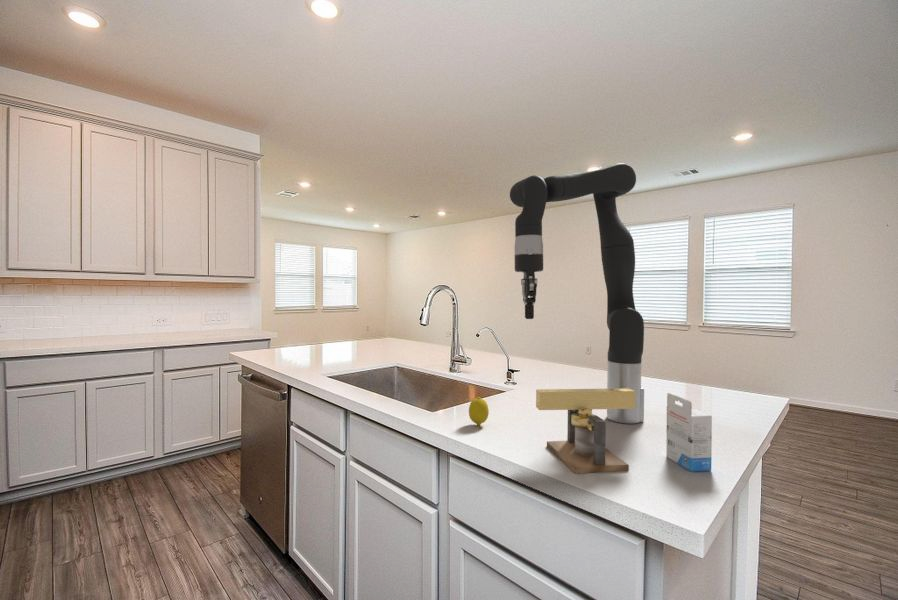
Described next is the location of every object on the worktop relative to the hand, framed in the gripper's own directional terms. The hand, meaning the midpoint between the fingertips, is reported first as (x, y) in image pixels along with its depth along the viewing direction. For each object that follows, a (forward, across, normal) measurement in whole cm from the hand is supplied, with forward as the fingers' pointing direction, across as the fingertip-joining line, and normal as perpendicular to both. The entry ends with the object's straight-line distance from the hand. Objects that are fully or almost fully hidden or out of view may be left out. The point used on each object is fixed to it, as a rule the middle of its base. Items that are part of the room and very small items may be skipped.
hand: (529, 318), depth 108 cm
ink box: (+31, +17, +32) cm, 48 cm away
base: (+31, +16, +10) cm, 36 cm away
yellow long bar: (+23, +16, +11) cm, 30 cm away
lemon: (+30, -4, -14) cm, 34 cm away
